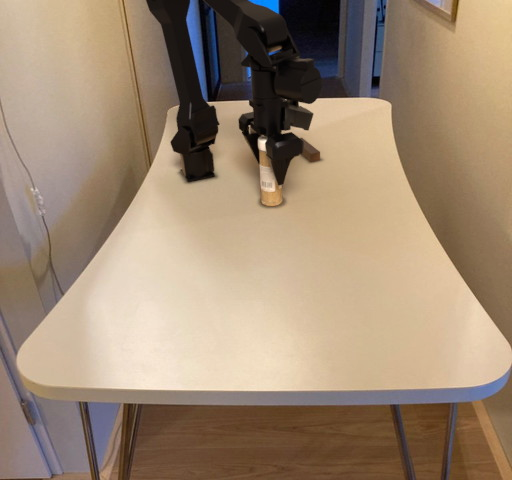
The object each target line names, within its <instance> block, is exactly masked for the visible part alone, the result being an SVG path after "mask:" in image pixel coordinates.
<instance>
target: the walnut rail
mask: <svg viewBox="0 0 512 480" xmlns="http://www.w3.org/2000/svg"><path fill="white" fill-rule="evenodd" d="M299 138H300V139H301V140H302V141H303V142H304V152H303V153H302V154H301V156H303V158H305V159H306V160H308V161H309V162H310V163H313V162H318V161H321V151H320V150H319V149H317V148H316V147H315V146H313V145H312V144H311V143H309V142H308V141H307V140H306V139H304V138H303V137H299Z"/></svg>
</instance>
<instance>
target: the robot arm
mask: <svg viewBox="0 0 512 480" xmlns="http://www.w3.org/2000/svg"><path fill="white" fill-rule="evenodd" d="M202 1H203V2H205V4H207V6H209V7H210V8H211V9H212V10H213V11H214V12H215V13H217V14H218V15H219V17H221V18H222V19H223V20H224V21H226V22H227V23H228V24H229V25H230V26H231V28H232V29H233V32H234V37H235V39H236V41H237V42H238V43H239V44H240V46H241V47H242V49H244V51H245V52H246V53H247V55H246V56H245V57H244V58H243V60H241V62H240V66H241V67H244V68H249V69H250V70H249V71H250V85H251V87H250V88H251V98H250V99H248V106H249V107H251V108H252V111H250V112H245V113H242V114H241V115H240V116H239V118H238V129H239V130H240V131H241V135H242V136H243V137H244V139H245V141H246V143H247V146H248V148H249V149H250V151H251V153H252V155H253V157H254V159H255V161H256V163H257V165H258V167H259V168H260V157H259V148H258V138H259V137H260V136H262V137H265V136H266V137H267V138H268V139H267V141H266V142H265V148H266V152H267V154H266V157H267V159H268V162H269V164H270V167H271V169H272V172H273V175H274V177H275V180H276V182H277V184H278V185H282V186H284V184H285V181H286V177H287V174H288V170H289V167H290V164H291V162H292V161H293V159H294V158H296V157H298V156H299V157H300V155H302V153H303V152H304V142H303V141H302V140H301V139H300V138H301V137H299V136H297V135H296V134H295V133H294V132H292V131H291V129H292V128H298V129H303V131H307V132H308V131H309V130H310V127H311V123H312V121H313V117H314V112H312V111H311V110H310V109H308V108H305V107H303V106H301V105H300V103H301V104H307V105H312V104H314V103H315V102H316V101H317V100H318V98H319V96H320V94H321V92H322V88H323V78H322V76H321V72H320V70H319V69H318V68H317V67H315V64H316V63H315V59H314V58H301V53H300V51H299V49H298V47H297V45H296V43H295V40H294V39H293V37H292V35H291V33H290V31H289V29H288V27H287V22H286V20H285V18H284V17H283V16H282V15H281V14H280V13H278V12H277V11H274V10H273V9H271V8H269V7H267V6H265V5H261V4H258V3H255V2H252V1H250V0H202ZM145 2H146V4H147V7H148V10H149V12H150V14H151V15H152V16H153V17H154V18H155V20H156V21H157V22H158V23H159V24H160V27H161V30H162V34H163V38H164V43H165V47H166V50H167V51H166V52H167V55H168V59H169V60H168V61H169V63H170V68H171V72H172V76H173V80H174V85H175V89H176V93H177V98H178V101H179V102H178V103H179V105H178V110H177V113H176V117H175V119H176V120H175V121H176V128H177V131H176V133H175V135H174V136H173V137H172V139H171V140H170V146H171V148H172V151H173V153H177V154H179V158H180V165H181V169H180V170H179V172H180V173H181V175H182V176H183V177H184V180H186V182H188V183H190V182H194V181H195V182H196V181H200V180H205V179H209V178H215V176H216V174H215V164H214V154H213V152H212V151H211V147H210V146H212V145H216V140H217V136H218V134H219V126H220V121H219V119H218V115H217V108H216V106H215V105H210V104H209V103H208V102H207V101H206V100H205V98H204V95H203V90H202V87H201V81H200V77H199V73H198V67H197V63H196V58H195V54H194V49H193V45H192V41H191V36H190V30H189V27H188V21H187V17H188V14H189V10H190V5H191V0H145ZM279 50H281V51H279ZM276 51H277V52H276ZM273 52H275V53H273ZM271 53H272V54H271ZM291 127H292V128H291ZM283 131H284V133H282V132H283ZM286 131H289V132H286Z"/></svg>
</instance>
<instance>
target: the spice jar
mask: <svg viewBox="0 0 512 480" xmlns="http://www.w3.org/2000/svg"><path fill="white" fill-rule="evenodd" d="M267 139H268V138H267V137H266V136H265V137H262V136H260V137H259V138H258V148H259V157H260V167H259V180H260V181H259V182H260V185H259V186H260V196H261V198H260V203H261V204H262V205H264V206H267V207H275V206H279V205H280V204H282V203H283V190H282V189H283V188H282V187H283V185H278V184H277V182H276V180H275V177H274V175H273V172H272V169H271V167H270V164H269V162H268V159H267V157H266V154H267V152H266V148H265V142H266V141H267Z"/></svg>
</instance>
